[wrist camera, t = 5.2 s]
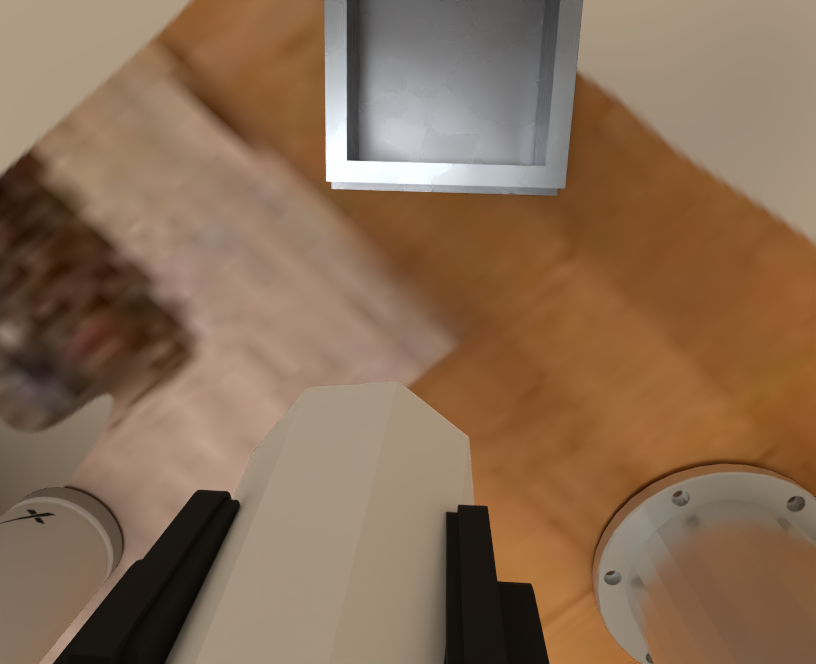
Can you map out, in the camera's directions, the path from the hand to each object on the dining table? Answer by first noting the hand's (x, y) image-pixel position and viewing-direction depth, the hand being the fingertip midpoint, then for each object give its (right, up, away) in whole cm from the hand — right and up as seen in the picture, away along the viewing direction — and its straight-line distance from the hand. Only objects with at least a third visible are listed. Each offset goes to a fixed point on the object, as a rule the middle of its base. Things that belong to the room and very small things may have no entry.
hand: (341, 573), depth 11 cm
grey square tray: (+3, +16, +15) cm, 22 cm away
